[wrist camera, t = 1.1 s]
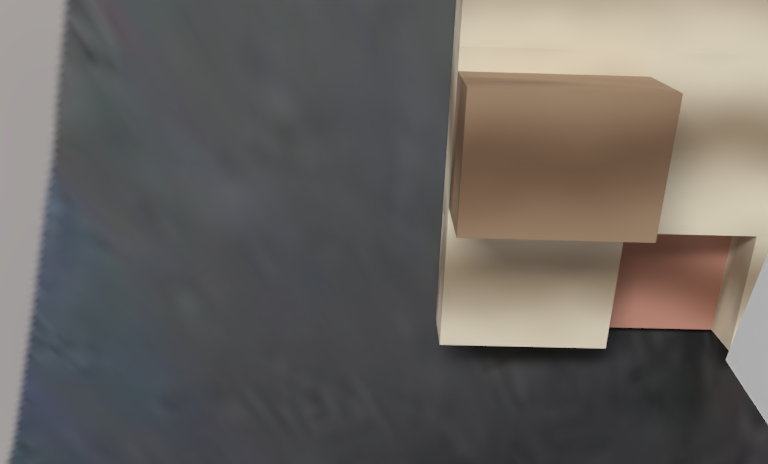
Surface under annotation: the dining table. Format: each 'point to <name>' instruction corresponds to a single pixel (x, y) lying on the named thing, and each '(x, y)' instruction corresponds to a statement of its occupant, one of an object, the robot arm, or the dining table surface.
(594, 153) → the walnut block
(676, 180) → the platform
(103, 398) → the dining table surface
